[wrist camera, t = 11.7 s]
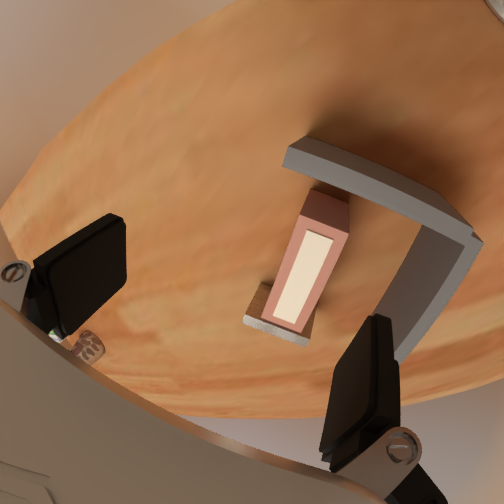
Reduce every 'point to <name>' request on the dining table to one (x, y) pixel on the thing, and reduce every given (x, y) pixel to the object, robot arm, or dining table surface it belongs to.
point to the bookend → (255, 320)
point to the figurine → (88, 348)
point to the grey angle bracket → (422, 250)
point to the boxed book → (308, 260)
